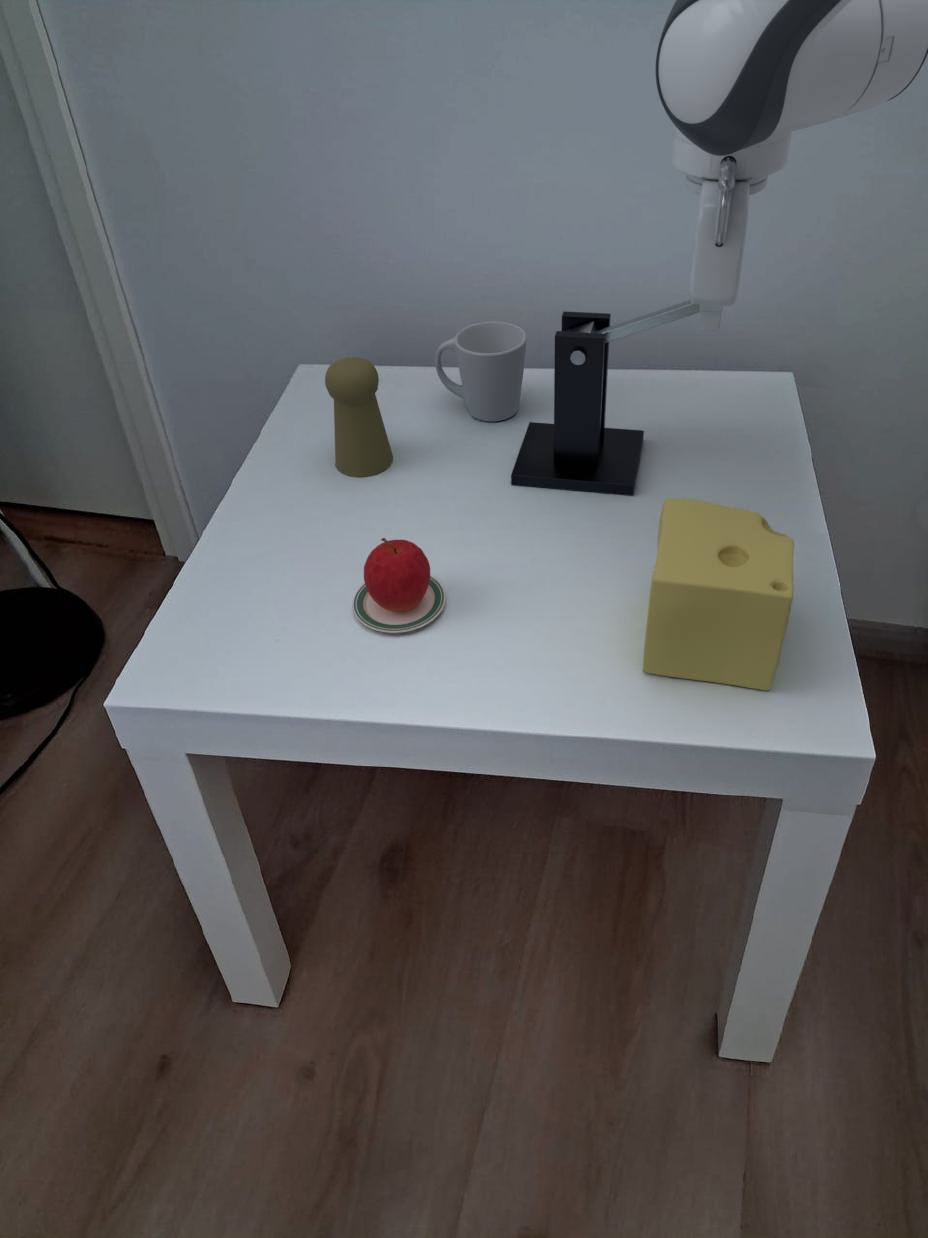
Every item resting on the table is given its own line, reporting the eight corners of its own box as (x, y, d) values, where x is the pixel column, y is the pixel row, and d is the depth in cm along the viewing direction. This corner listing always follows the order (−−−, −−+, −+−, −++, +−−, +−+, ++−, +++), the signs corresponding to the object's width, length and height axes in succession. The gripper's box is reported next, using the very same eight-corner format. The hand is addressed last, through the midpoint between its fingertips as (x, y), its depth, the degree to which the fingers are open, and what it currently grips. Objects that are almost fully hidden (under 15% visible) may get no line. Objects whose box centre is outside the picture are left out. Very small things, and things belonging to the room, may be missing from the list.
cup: (519, 430, 100) (517, 356, 94) (430, 422, 102) (423, 349, 97) (534, 394, 105) (533, 323, 100) (449, 387, 108) (443, 317, 102)
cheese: (778, 606, 78) (801, 508, 71) (773, 700, 70) (798, 601, 64) (652, 589, 80) (662, 493, 73) (634, 678, 73) (644, 580, 66)
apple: (365, 571, 84) (356, 513, 80) (453, 577, 83) (448, 518, 78) (343, 633, 78) (331, 573, 74) (436, 640, 77) (430, 579, 73)
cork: (333, 449, 99) (316, 353, 92) (389, 441, 100) (377, 345, 93) (337, 480, 95) (320, 383, 88) (396, 472, 96) (384, 374, 88)
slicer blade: (725, 297, 83) (717, 272, 82) (723, 323, 79) (715, 297, 78) (577, 346, 89) (567, 323, 88) (569, 371, 86) (559, 348, 84)
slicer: (643, 440, 97) (654, 303, 87) (633, 495, 90) (644, 354, 80) (529, 431, 100) (528, 297, 90) (511, 485, 93) (507, 346, 83)
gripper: (773, 185, 64) (745, 370, 74) (773, 101, 79) (749, 264, 88) (680, 184, 65) (663, 365, 75) (696, 101, 80) (681, 262, 89)
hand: (710, 310), depth 82 cm, fingers closed on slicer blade, 5 cm apart
